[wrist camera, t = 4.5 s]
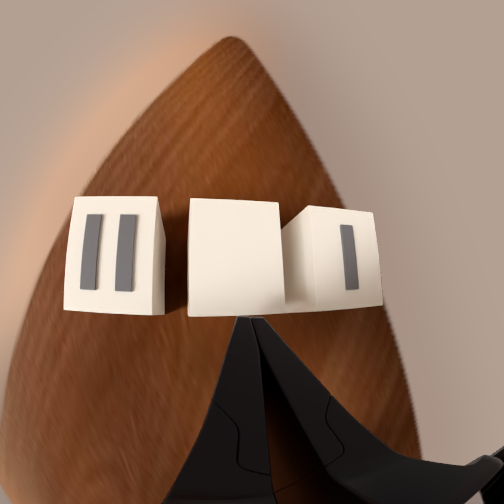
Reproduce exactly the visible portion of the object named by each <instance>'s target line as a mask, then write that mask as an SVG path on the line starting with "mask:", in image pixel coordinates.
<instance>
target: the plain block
mask: <svg viewBox="0 0 504 504" xmlns="http://www.w3.org/2000/svg"><path fill="white" fill-rule="evenodd" d="M187 296H188V316H239V315H262V314H280V313H286V312H285V293H284V275H283V259H282V244H281V230H280V217H279V204H278V203H277V202H262V201H245V200H225V199H199V198H190V210H189V224H188V240H187Z"/></svg>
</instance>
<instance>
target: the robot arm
mask: <svg viewBox="0 0 504 504" xmlns="http://www.w3.org/2000/svg"><path fill="white" fill-rule="evenodd" d="M330 395H331V394H330V392H329V391H328V390H327V389H326V388H325V387H324V386H323V385H322V384H321V382H320V381H319V380H318V379H317V378H316V377H315V376H314V375H313V373H312V372H311V371H310V370H309V369H308V368H307V367H306V366H305V364H304V363H303V362H302V361H301V360H300V359H299V358H298V357H297V355H296V354H295V353H294V352H293V351H292V350H291V349H290V347H289V346H288V345H287V344H286V343H285V342H284V340H283V339H282V338H281V337H280V336H279V335H278V333H277V332H276V331H275V330H274V329H273V328H272V326H271V325H270V324H269V323H268V322H267V321H266V319H265V318H263V317H249V316H237V317H236V320H235V324H234V327H233V330H232V334H231V337H230V340H229V343H228V347H227V350H226V353H225V357H224V360H223V363H222V366H221V370H220V373H219V376H218V380H217V383H216V386H215V389H214V393H213V396H212V399H211V402H210V405H209V408H208V412H207V415H206V417H205V420H204V423H203V426H202V428H201V431H200V433H199V435H198V437H197V439H196V442H195V444H194V446H193V448H192V450H191V451H190V453H189V455H188V457H187V459H186V461H185V463H184V465H183V467H182V469H181V471H180V472H179V474H178V476H177V478H176V480H175V482H174V484H173V485H172V487H171V489H170V490H169V492H168V494H167V495H166V497H165V499H164V500H163V502H162V503H161V504H504V446H503V447H502V448H500V449H499V450H497V451H496V452H495V453H493V454H492V455H490V456H488V455H483V456H481V457H479V458H477V459H475V460H474V461H472V462H470V463H469V464H467V465H465V466H459V465H450V464H443V463H436V462H430V461H425V460H420V459H414V458H410V457H406V456H403V455H401V454H399V453H397V452H395V451H394V450H392V449H391V448H389V447H388V446H387V445H386V444H384V443H383V442H382V441H381V440H380V439H378V438H377V437H376V436H375V435H373V434H372V433H371V432H370V431H369V430H367V429H366V428H365V427H364V426H363V425H362V424H361V423H359V422H358V421H357V420H356V419H355V418H354V417H353V416H352V415H351V414H350V413H349V412H348V411H347V410H346V409H345V408H344V407H343V406H342V405H341V404H340V403H339V402H338V401H337V400H336V399H335V398H334V397H333V396H332V395H331V396H330Z"/></svg>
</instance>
